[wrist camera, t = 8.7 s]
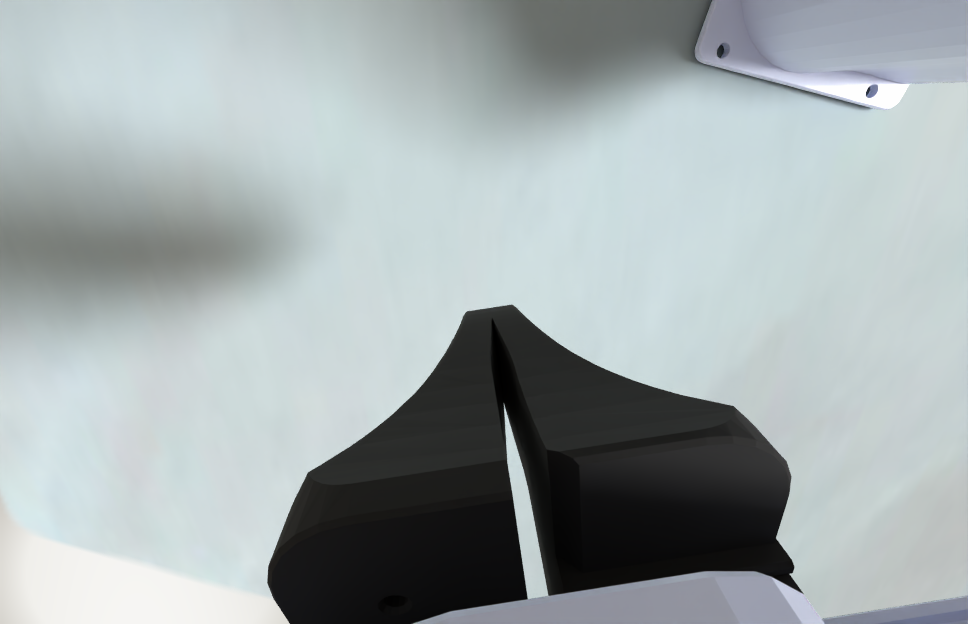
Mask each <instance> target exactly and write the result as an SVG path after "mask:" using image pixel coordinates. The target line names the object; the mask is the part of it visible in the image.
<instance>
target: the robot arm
mask: <svg viewBox="0 0 968 624" xmlns="http://www.w3.org/2000/svg"><path fill="white" fill-rule="evenodd" d="M719 45H723V47H724V53H723V55H722V57H720V58H719V57H718V56H717V49H718V47H719ZM695 57H696V59H697V60H698V61H699V62H701V63H704V64H708V65H711V66H715V67H719V68H723V69H726V70H730V71H734V72H738V73H742V74H745V75H749V76H753V77H757V78H760V79H764V80H768V81H772V82H776V83H779V84H783V85H787V86H791V87H794V88H798V89H802V90H806V91H809V92H813V93H817V94H821V95H825V96H828V97H832V98H836V99H840V100H843V101H847V102H851V103H855V104H859V105H862V106H866V107H870V108H874V109H881V110H888V109H890V108H893V107H894V106H895V105H896V104H897V103H898V102H899V101H900V99H901V98H902V96H903V94H904V92H905V91H906V89H907V87H908V85H909V84H923V83H954V82H968V0H712V2H711V5H710V8H709V10H708V13H707V16H706V19H705V21H704V24H703V27H702V30H701V32H700V35H699V38H698V41H697V43H696V47H695ZM869 86H870V91H869V93H868V95H867V96H866V90H867V89H868V88H869ZM504 405H505V408H506V412H507V415H508V419H509V422H510V425H511V429H512V432H513V436H514V439H515V442H516V446H517V449H518V452H519V456H520V459H521V462H522V466H523V469H524V473H525V477H526V481H527V485H528V490H529V495H530V500H531V505H532V510H533V516H534V521H535V526H536V531H537V537H538V542H539V547H540V553H541V558H542V563H543V568H544V574H545V579H546V585H547V590H548V595H549V596H546V597H539V598H533V599H528V598H527V591H526V584H525V578H524V571H523V564H522V557H521V550H520V544H519V537H518V530H517V523H516V516H515V509H514V503H513V496H512V490H511V483H510V477H509V471H508V465H507V451H506V434H505V417H504ZM790 483H791V474H790V471H789V468H788V465H787V461H786V460H785V459H784V458H783V457H782V456H781V455H780V454H779V453H778V452H777V451H776V450H775V448H774V447H773V446H772V445H771V444H770V443H769V442H768V441H767V439H766V438H765V437H764V436H763V435H762V434H761V433H760V432H759V430H758V429H757V428H756V427H755V426H754V425H753V424H752V423H751V422H750V421H749V420H748V419H747V418H746V417H745V416H744V415H743V414H741V413H740V412H739V411H738V410H737V409H736V408H735V407H734V406H730V405H726V404H721V403H716V402H712V401H707V400H702V399H697V398H693V397H688V396H683V395H679V394H675V393H672V392H668V391H665V390H662V389H658V388H655V387H651V386H648V385H645V384H642V383H639V382H636V381H633V380H630V379H628V378H625V377H623V376H620V375H618V374H615V373H613V372H610V371H608V370H606V369H604V368H601V367H599V366H597V365H595V364H593V363H591V362H589V361H587V360H585V359H583V358H582V357H580V356H578V355H576V354H574V353H573V352H571V351H569V350H568V349H566V348H565V347H563V346H562V345H560V344H558V343H557V342H556V341H554V340H553V339H551V338H550V337H549V336H548V335H546V334H545V333H544V332H543V331H541V330H540V329H539V328H538V327H536V326H535V325H534V324H533V323H532V322H531V321H530V320H529V319H527V318H526V317H525V316H524V315H523V314H522V313H521V312H520V311H519V310H518V309H517V308H516V307H515V306H513V305H507V306H500V307H494V308H487V309H480V310H474V311H467V312H466V313H465V315H464V316H463V319H462V321H461V324H460V326H459V329H458V331H457V333H456V335H455V337H454V339H453V340H452V342H451V344H450V346H449V348H448V349H447V351H446V353H445V354H444V356H443V357H442V359H441V360H440V362H439V363H438V365H437V366H436V368H435V369H434V371H433V372H432V373H431V375H430V376H429V377H428V379H427V380H426V381H425V382H424V384H423V385H422V386H421V387H420V388H419V389H418V390H417V392H416V393H415V394H414V395H413V396H412V397H411V398H410V399H408V400H407V401H406V402H405V403H404V404H403V405H402V406H401V407H400V408H399V409H398V410H397V411H396V412H395V413H394V414H393V415H391V416H390V417H389V418H388V419H387V420H385V421H384V422H383V423H382V424H380V425H379V426H378V427H377V428H375V429H374V430H373V431H371V432H370V433H369V434H367V435H366V436H365V437H363V438H362V439H360V440H359V441H358V442H356V443H355V444H353V445H352V446H350V447H349V448H347V449H346V450H344V451H342V452H341V453H339V454H338V455H336V456H334V457H333V458H331V459H330V460H328V461H326V462H325V463H323V464H322V465H320V466H318V467H317V468H315V469H313V470H312V471H310V472H308V474H307V476H306V478H305V480H304V482H303V484H302V486H301V488H300V490H299V492H298V494H297V496H296V498H295V500H294V502H293V505H292V507H291V509H290V512H289V514H288V517H287V519H286V522H285V524H284V527H283V530H282V532H281V535H280V537H279V540H278V543H277V545H276V548H275V550H274V553H273V556H272V558H271V561H270V563H269V566H268V582H267V583H268V586H269V588H270V591H271V593H272V596H273V598H274V600H275V601H276V603H277V604H278V606H279V607H280V609H281V611H282V612H283V614H284V615H285V617H286V618H287V620H288V621H289V623H290V624H968V596H962V597H956V598H949V599H943V600H937V601H931V602H924V603H918V604H912V605H905V606H899V607H893V608H886V609H880V610H874V611H867V612H861V613H855V614H849V615H842V616H836V617H830V618H823V619H821V617H820V616H819V615H818V613H817V612H816V610H815V609H814V608H813V606H812V605H811V604H810V602H809V601H808V599H807V598H806V597H805V595H804V594H803V592H802V591H801V590H800V588H799V587H798V585H797V584H796V583H795V581H794V580H793V579H792V577H791V576H790V573H793V570H794V565H793V562H792V559H791V558H790V557H789V555H788V554H787V553H786V551H785V550H784V549H783V547H782V546H781V545H780V543H779V542H778V541H777V539H776V536H777V533H778V529H779V526H780V523H781V520H782V516H783V513H784V510H785V507H786V504H787V500H788V497H789V492H790Z"/></svg>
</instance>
